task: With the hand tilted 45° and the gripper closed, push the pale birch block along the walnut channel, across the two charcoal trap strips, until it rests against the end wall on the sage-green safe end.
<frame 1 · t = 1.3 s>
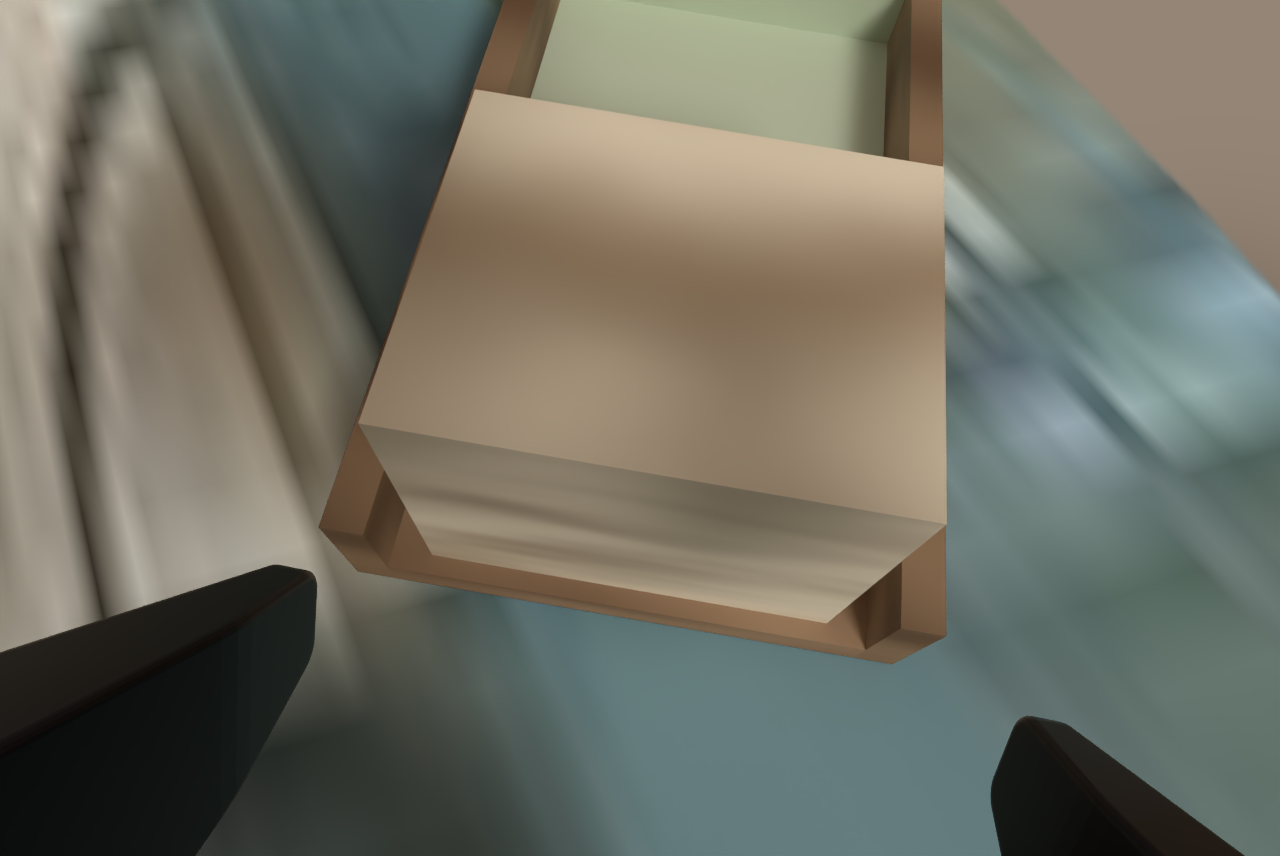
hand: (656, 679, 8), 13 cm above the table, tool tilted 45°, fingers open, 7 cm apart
safe end: (707, 122, 29), on the table
birch block: (652, 445, 22), point 1 cm above the table, touching channel
channel: (683, 262, 26), on the table
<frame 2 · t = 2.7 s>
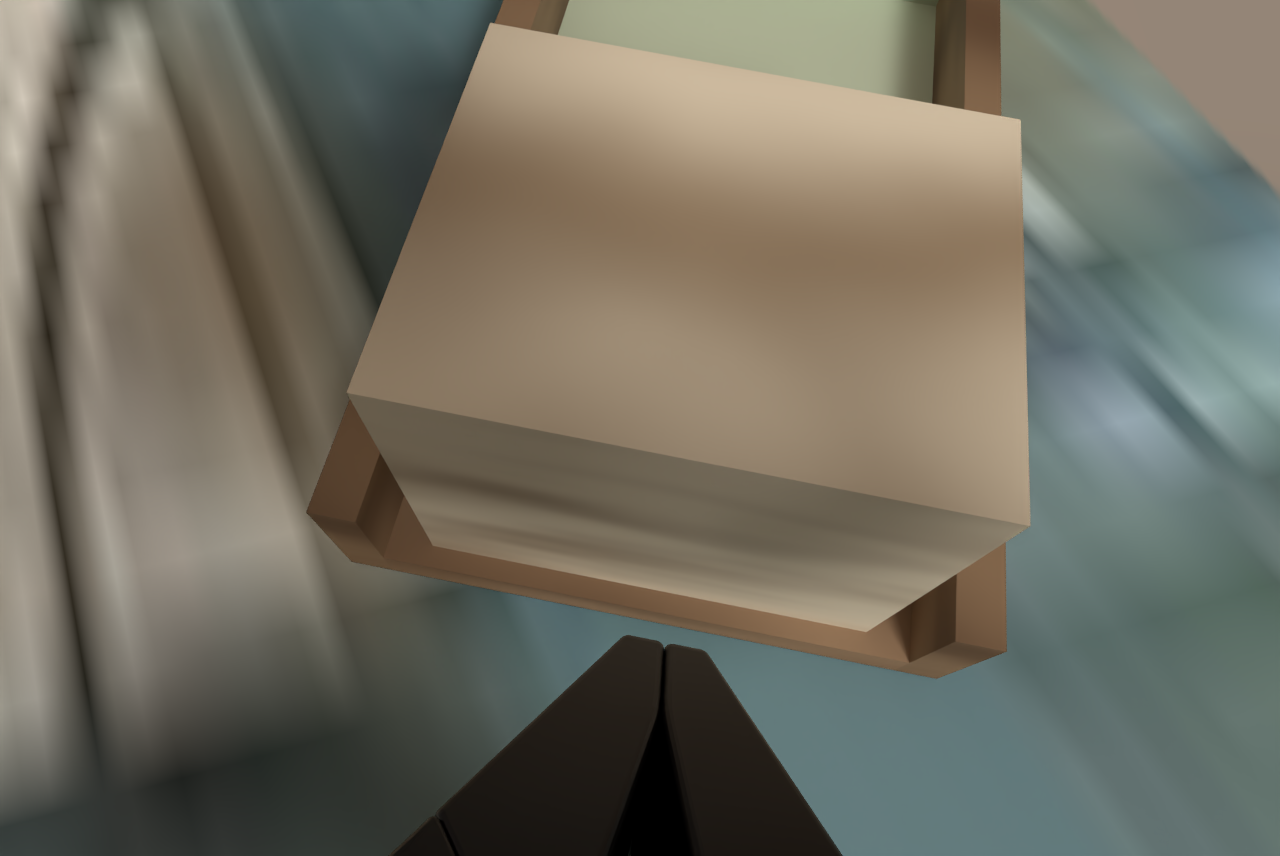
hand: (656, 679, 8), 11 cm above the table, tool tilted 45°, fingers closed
safe end: (739, 86, 27), on the table
birch block: (677, 432, 20), point 1 cm above the table, touching channel
channel: (712, 236, 24), on the table
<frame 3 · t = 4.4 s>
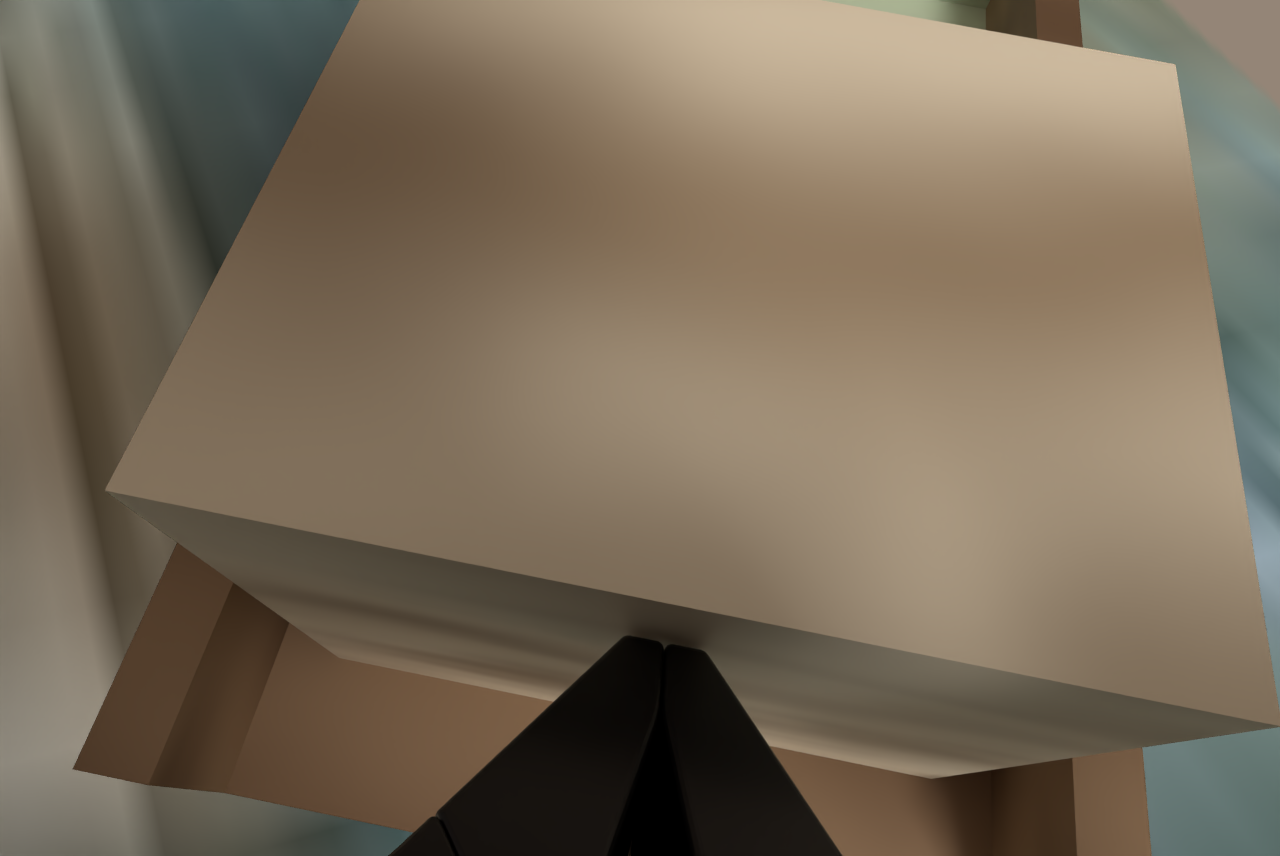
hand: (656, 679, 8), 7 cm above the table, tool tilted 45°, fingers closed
safe end: (741, 108, 21), on the table
birch block: (672, 496, 15), point 1 cm above the table, touching channel
channel: (705, 302, 19), on the table
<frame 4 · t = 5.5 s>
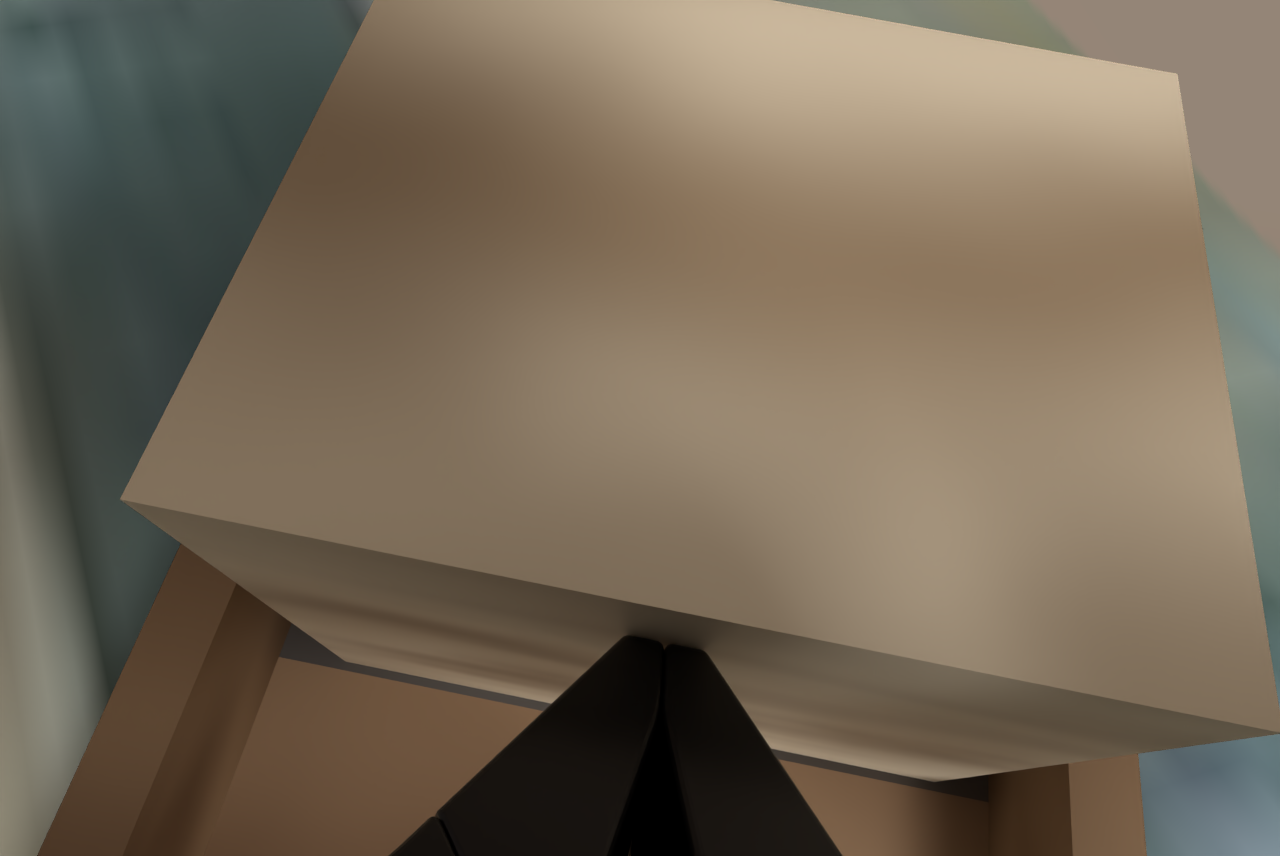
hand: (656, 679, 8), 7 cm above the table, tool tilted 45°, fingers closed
birch block: (676, 501, 15), point 1 cm above the table, touching channel, safe end
channel: (656, 573, 16), on the table
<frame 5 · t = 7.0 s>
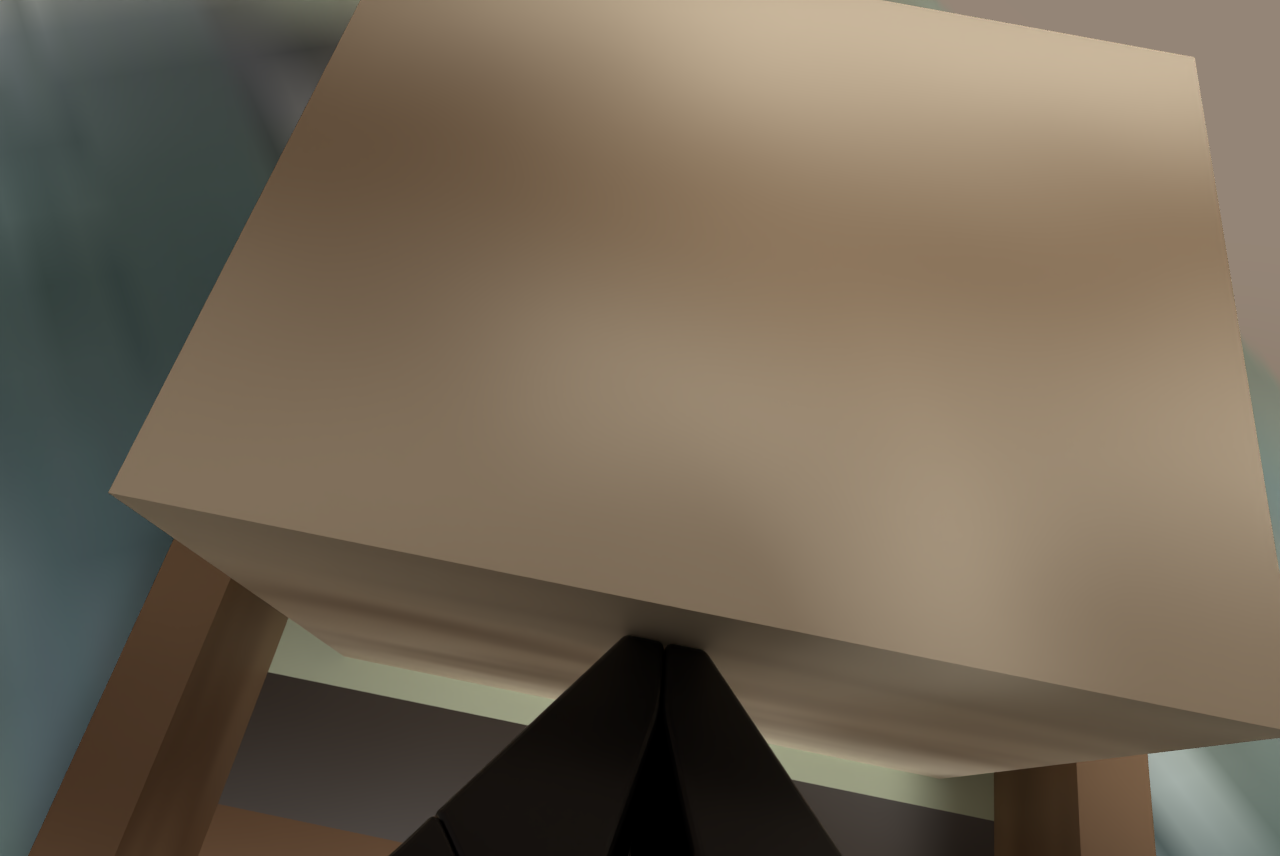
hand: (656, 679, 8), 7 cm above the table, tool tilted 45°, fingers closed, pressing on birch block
safe end: (665, 522, 16), on the table
birch block: (679, 494, 15), point 1 cm above the table, touching gripper, safe end
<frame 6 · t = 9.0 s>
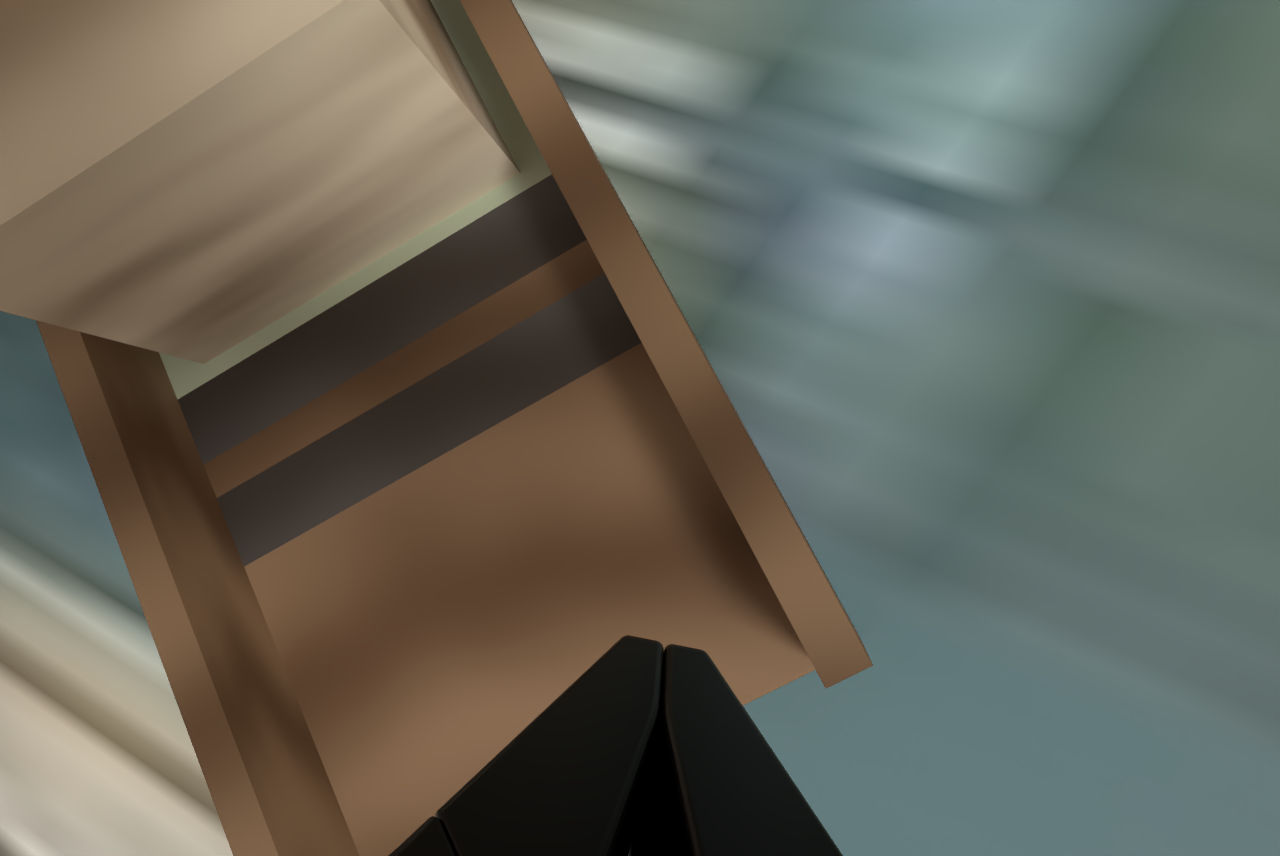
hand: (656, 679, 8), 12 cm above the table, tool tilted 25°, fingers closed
safe end: (321, 172, 23), on the table
birch block: (301, 148, 22), point 1 cm above the table, touching safe end
channel: (409, 361, 22), on the table
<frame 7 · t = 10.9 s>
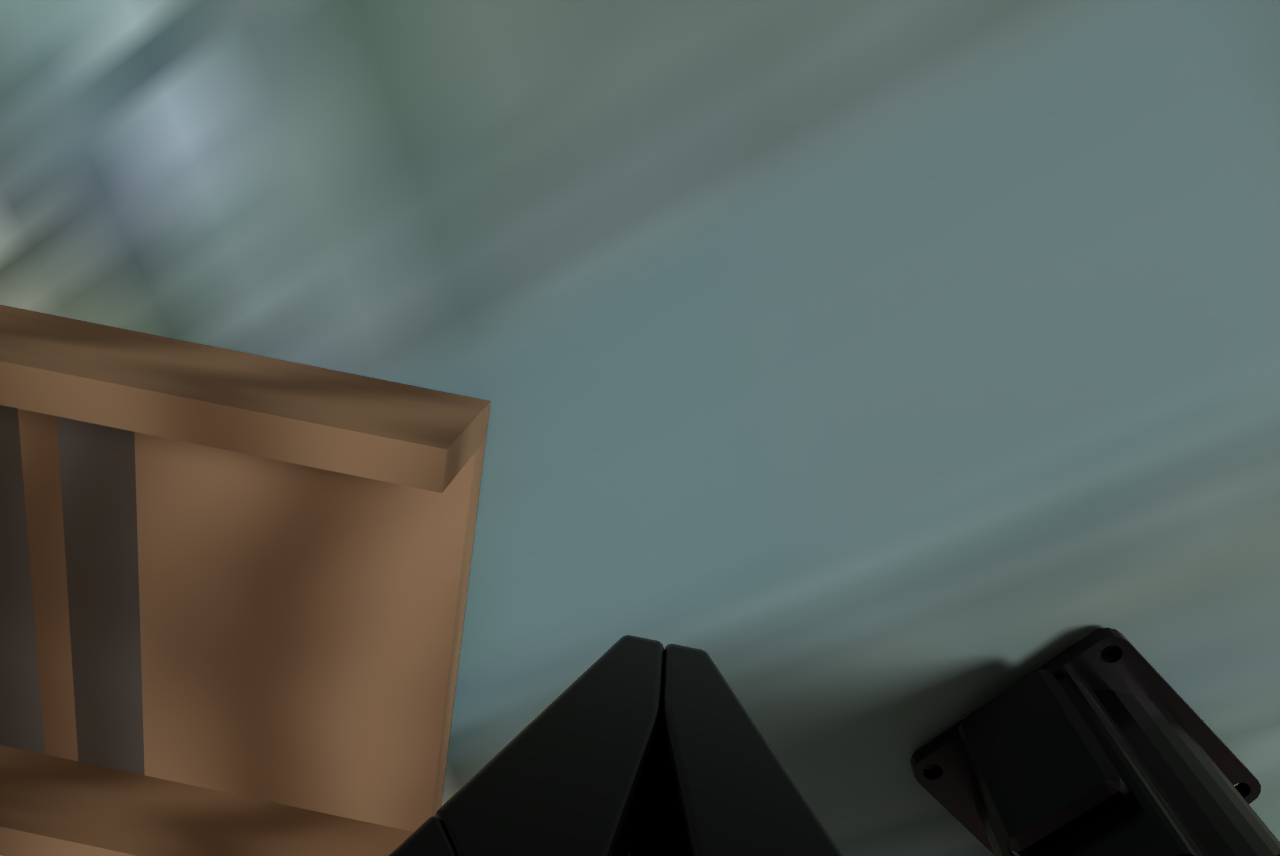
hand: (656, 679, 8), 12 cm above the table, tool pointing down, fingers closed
channel: (59, 557, 23), on the table
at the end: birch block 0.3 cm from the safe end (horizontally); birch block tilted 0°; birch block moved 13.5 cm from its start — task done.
